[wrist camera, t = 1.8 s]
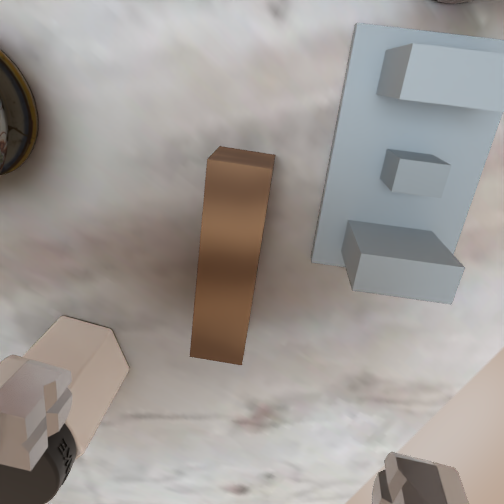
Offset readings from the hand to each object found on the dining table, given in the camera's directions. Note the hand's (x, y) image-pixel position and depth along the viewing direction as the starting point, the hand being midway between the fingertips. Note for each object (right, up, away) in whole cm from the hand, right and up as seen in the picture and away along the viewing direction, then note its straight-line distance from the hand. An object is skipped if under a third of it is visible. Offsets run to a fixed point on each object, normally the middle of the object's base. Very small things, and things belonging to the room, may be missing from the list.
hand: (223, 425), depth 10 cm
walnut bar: (-1, +5, +22) cm, 22 cm away
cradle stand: (+11, +11, +18) cm, 24 cm away
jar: (-15, -5, +28) cm, 32 cm away
